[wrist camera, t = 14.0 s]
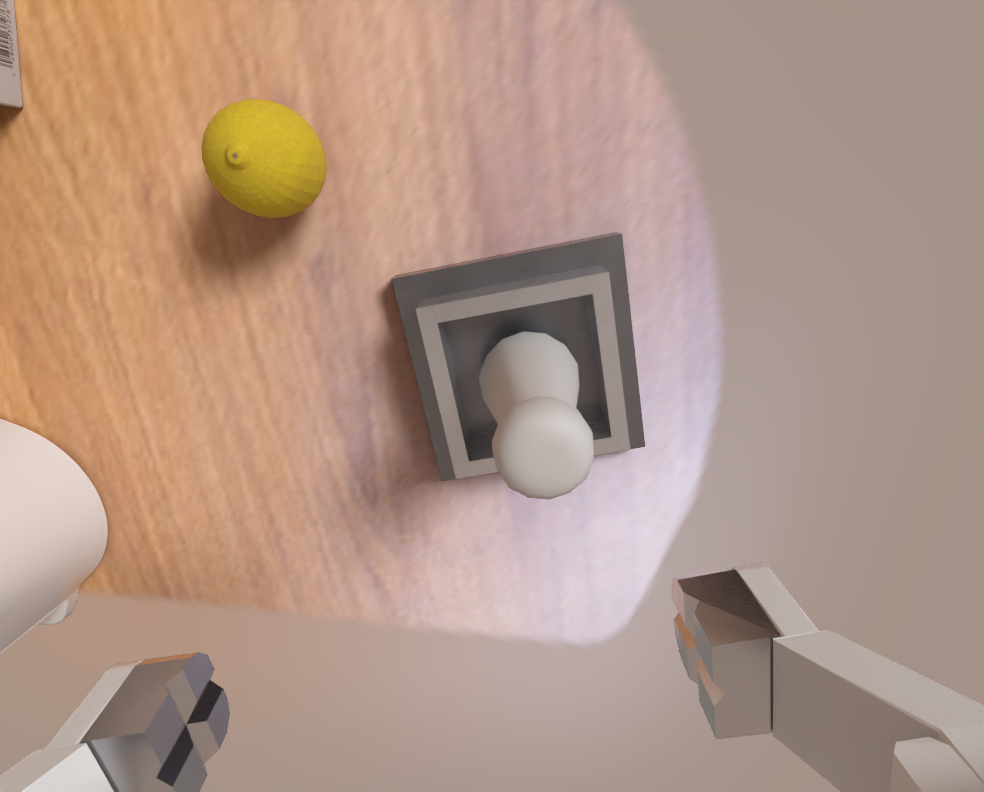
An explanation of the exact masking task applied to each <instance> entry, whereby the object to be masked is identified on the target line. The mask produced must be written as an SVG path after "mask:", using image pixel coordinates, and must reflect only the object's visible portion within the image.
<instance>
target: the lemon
mask: <svg viewBox="0 0 984 792" xmlns="http://www.w3.org/2000/svg"><path fill="white" fill-rule="evenodd" d="M202 160H203V163H204V166H205V170H206V173H207V175H208V176H209V178H210V180H211V182H212V184H213V185H214V187H215V188H216V189H217V190H218V191H219V192H220V194H221V195H222V196H223V197H224V198H225V199H227V200H228V201H229V202H231V203H232V204H233V205H235V206H236V207H238V208H240V209H242V210H244V211H246V212H249V213H251V214H253V215H257V216H263V217H269V218H278V217H288V216H291V215H293V214H296V213H298V212H301V211H303V210H304V209H305V208H307V207H308V206H309V205H311V204H312V203H313V202H314V201H315V199H316V198H317V197H318V195H319V194H320V193H321V190H322V187H323V185H324V182H325V178H326V170H327V165H326V157H325V152H324V149H323V146H322V144H321V141H320V139H319V138H318V136H317V134H316V133H315V131H314V130H313V128H312V127H311V126H310V125H309V124H308V123H307V122H306V121H305V120H304V119H303V118H302V117H301V116H300V115H299V114H297V113H296V112H294V111H293V110H291V109H289V108H288V107H286V106H284V105H281V104H278V103H275V102H272V101H268V100H255V99H248V100H244V101H240V102H236V103H232V104H230V105H228V106H227V107H225V108H224V109H222V110H220V111H219V112H218V113H217V114H216V115H215V116H214V117H213V118H212V119H211V121H210V122H209V124H208V126H207V128H206V130H205V132H204V136H203V142H202Z"/></svg>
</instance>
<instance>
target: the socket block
mask: <svg viewBox="0 0 984 792" xmlns="http://www.w3.org/2000/svg"><path fill="white" fill-rule="evenodd" d="M392 283H393V287H394V291H395V295H396V299H397V303H398V307H399V311H400V315H401V319H402V323H403V327H404V332H405V336H406V340H407V344H408V348H409V352H410V356H411V360H412V364H413V368H414V372H415V376H416V380H417V384H418V388H419V392H420V396H421V400H422V404H423V408H424V412H425V416H426V420H427V424H428V428H429V432H430V436H431V440H432V444H433V449H434V453H435V457H436V461H437V465H438V469H439V473H440V477H441V481H446V480H451V479H460V478H465V477H471V476H477V475H483V474H489V473H495V472H498V471H497V468H496V466H495V461H494V455H493V449H492V441H493V437H494V434H495V431H496V428H497V426H498V423H497V422H496V420H495V418H494V416H493V415H492V413H491V411H490V410H489V408H488V406H487V405H486V403H485V401H484V400H483V398H482V392H481V386H480V381H479V376H480V373H481V370H482V367H483V364H484V361H485V358H486V356H487V354H488V353H489V352H490V351H491V350H492V349H493V348H494V347H495V346H496V345H497V344H498V343H499V342H500V341H501V340H502V339H504V338H507V337H509V336H512V335H515V334H518V333H520V332H523V331H525V332H536V333H546V334H547V335H549V336H551V337H552V338H554V339H556V340H557V341H559V342H561V343H563V344H564V345H565V346H566V347H567V348H568V350H569V351H570V353H571V355H572V356H573V358H574V359H575V361H576V362H577V364H578V373H579V385H580V386H579V393H578V400H577V407H576V409H578V411H579V412H580V414H581V415H582V417H583V418H584V420H585V421H586V422H587V424H588V425H589V427H590V429H591V431H592V433H593V447H594V456H595V455H601V454H607V453H613V452H619V451H624V450H630V449H634V448H640V447H645V441H644V432H643V423H642V413H641V404H640V395H639V386H638V377H637V368H636V358H635V349H634V340H633V331H632V322H631V313H630V304H629V294H628V285H627V276H626V267H625V258H624V249H623V239H622V234H620V233H617V232H616V233H610V234H605V235H600V236H595V237H590V238H585V239H580V240H575V241H569V242H564V243H559V244H554V245H549V246H544V247H539V248H534V249H529V250H523V251H518V252H513V253H508V254H503V255H498V256H493V257H488V258H482V259H477V260H472V261H467V262H462V263H457V264H452V265H447V266H442V267H436V268H431V269H426V270H421V271H416V272H411V273H406V274H401V275H396V276H394V277H393V278H392Z"/></svg>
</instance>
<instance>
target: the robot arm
mask: <svg viewBox="0 0 984 792" xmlns="http://www.w3.org/2000/svg"><path fill="white" fill-rule="evenodd" d="M107 536H108V527H107V519H106V514H105V510H104V507H103V504H102V501H101V499H100V497H99V495H98V493H97V491H96V489H95V487H94V486H93V484H92V482H91V481H90V480H89V478H88V477H87V475H86V474H85V473H84V472H83V470H82V469H81V468H80V467H79V466H78V465H77V464H76V463H75V462H74V461H73V460H72V459H71V458H70V457H69V456H68V455H67V454H66V453H65V452H64V451H62V450H61V449H60V448H58V447H57V446H56V445H54V444H53V443H52V442H50V441H48V440H47V439H45V438H44V437H42V436H40V435H38V434H36V433H35V432H33V431H30V430H28V429H26V428H24V427H21V426H19V425H16V424H13V423H10V422H7V421H5V420H2V419H0V654H2V653H3V652H4V651H6V649H8V648H9V647H11V646H12V645H13V644H14V643H15V642H17V641H18V640H19V639H20V638H22V637H23V636H24V635H25V634H27V633H28V632H29V631H30V630H31V629H32V628H34V627H35V626H36V625H38V624H57V623H60V622H61V621H62V620H64V619H65V618H66V617H67V616H69V615H70V614H71V613H72V612H73V610H74V608H75V605H76V602H77V597H78V592H79V588H80V586H81V584H82V583H83V582H84V581H85V580H86V578H87V577H88V576H89V575H90V574H91V573H92V572H93V571H94V570H95V569H96V567H97V566H98V564H99V563H100V561H101V559H102V557H103V554H104V552H105V548H106V544H107ZM672 598H673V600H674V602H675V605H676V607H677V609H678V611H679V613H678V614H677V616H676V617H675V619H674V624H675V633H676V639H677V643H678V648H679V652H680V655H681V658H682V661H683V664H684V667H685V669H686V672H687V674H688V676H689V678H690V679H691V680H693V681H694V682H696V683H697V684H698V687H699V700H700V704H701V706H702V708H703V711H704V713H705V715H706V717H707V720H708V722H709V724H710V726H711V729H712V731H713V733H714V735H715V737H716V739H723V738H732V737H741V736H749V735H758V734H767V733H773V736H774V737H775V738H777V739H778V740H779V741H780V742H781V743H783V744H784V745H785V746H786V747H787V748H789V749H790V750H791V751H792V752H793V753H795V754H796V755H797V756H798V757H800V758H801V759H802V760H803V761H804V762H806V763H807V764H808V765H809V766H810V767H812V768H813V769H814V770H815V771H817V772H818V773H819V774H820V775H821V776H823V777H824V778H825V779H826V780H828V781H829V782H830V783H831V784H832V785H834V786H835V787H836V788H837V789H838V790H840V791H841V792H984V706H983V705H981V704H979V703H977V702H975V701H973V700H971V699H969V698H967V697H965V696H963V695H961V694H959V693H957V692H954V691H952V690H950V689H948V688H946V687H944V686H942V685H940V684H938V683H936V682H934V681H932V680H930V679H928V678H926V677H924V676H922V675H920V674H918V673H916V672H914V671H912V670H909V669H907V668H905V667H903V666H901V665H899V664H897V663H895V662H893V661H891V660H889V659H887V658H885V657H883V656H881V655H879V654H877V653H875V652H873V651H870V650H868V649H866V648H864V647H862V646H860V645H858V644H856V643H854V642H852V641H850V640H848V639H846V638H844V637H842V636H840V635H838V634H836V633H834V632H832V631H830V630H826V631H819V630H818V629H817V628H816V627H815V625H814V624H813V623H812V622H811V620H810V619H809V618H808V617H807V615H806V614H805V613H804V612H803V610H802V609H801V608H800V606H799V605H798V604H797V603H796V602H795V600H794V599H793V598H792V597H791V595H790V594H789V593H788V591H787V590H786V589H785V588H784V586H783V585H782V584H781V583H780V581H779V580H778V579H777V578H776V576H775V575H774V574H773V572H772V571H771V570H770V569H769V567H768V566H767V565H765V564H763V563H756V564H751V565H745V566H740V567H734V568H732V569H727V570H720V571H715V572H709V573H702V574H697V575H690V576H684V577H678V578H673V579H672ZM213 672H214V667H213V665H212V663H211V661H210V659H209V657H208V655H207V654H203V653H192V654H183V655H176V656H168V657H161V658H153V659H146V660H144V661H134V662H127V663H119V664H117V665H115V666H113V667H111V668H109V669H108V670H107V671H106V672H105V673H104V675H103V676H102V677H101V678H100V680H99V681H98V682H97V684H96V685H95V686H94V687H93V689H92V690H91V691H90V692H89V694H88V695H87V696H86V697H85V699H84V700H83V701H82V703H81V704H80V705H79V706H78V708H77V709H76V710H75V711H74V713H73V714H72V715H71V716H70V718H69V719H68V720H67V722H66V723H65V724H64V725H63V727H62V728H61V729H60V731H59V732H58V733H57V734H56V735H55V737H54V738H53V739H52V740H51V742H50V743H49V745H48V746H47V747H46V748H45V749H42V750H36V751H34V752H33V753H31V754H30V755H28V756H27V757H26V758H24V759H23V760H22V761H20V762H19V763H17V764H16V765H15V766H13V767H12V768H10V769H9V770H8V771H6V772H5V773H3V774H2V775H1V776H0V792H200V790H201V787H202V785H203V783H204V781H205V779H206V777H207V771H206V767H205V764H204V763H205V762H206V761H207V760H208V759H209V758H210V757H212V756H213V755H214V754H215V753H216V752H217V751H218V750H219V749H220V747H221V744H222V742H223V740H224V738H225V735H226V733H227V728H228V721H229V715H230V712H229V705H228V699H227V697H226V694H225V692H224V689H223V688H221V687H220V686H218V685H217V684H215V683H214V682H212V681H211V680H210V679H211V677H212V674H213Z"/></svg>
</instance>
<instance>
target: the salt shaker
mask: <svg viewBox="0 0 984 792" xmlns="http://www.w3.org/2000/svg"><path fill="white" fill-rule="evenodd" d="M479 381H480V386H481V392H482V398H483V400H484V401H485V403H486V405H487V406H488V408H489V410H490V411H491V413H492V415H493V416H494V418H495V420H496V422H497V423H498V426H497V428H496V431H495V434H494V437H493V441H492V449H493V455H494V461H495V466H496V468H497V471H498V472H499V474H500V475H501V477H502V478H503V479H504V481H505V482H506V484H507V485H508V486H509V488H511V489H513V490H515V491H517V492H519V493H520V494H522V495H524V496H526V497H528V498H540V499H552V498H555V497H558V496H561V495H564V494H567V493H570V492H571V491H572V490H574V489H575V488H576V487H577V486H578V485H579V484H580V483H582V482H583V481H584V480H585V479H586V478H587V475H588V473H589V470H590V468H591V465H592V463H593V461H594V447H593V433H592V431H591V429H590V427H589V425H588V424H587V422H586V421H585V420H584V418H583V417H582V415H581V414H580V412H579V411H578V409H576V407H577V400H578V393H579V386H580V385H579V373H578V364H577V362H576V361H575V359H574V358H573V356H572V355H571V353H570V351H569V350H568V348H567V347H566V346H565V345H564V344H563V343H561V342H559V341H557V340H556V339H554V338H552V337H551V336H549V335H547V334H546V333H536V332H525V331H523V332H520V333H518V334H515V335H512V336H509V337H507V338H504V339H502V340H501V341H500V342H499V343H498V344H497V345H496V346H495V347H494V348H493V349H492V350H491V351H490V352H489V353H488V354H487V356H486V358H485V361H484V364H483V367H482V370H481V373H480V376H479Z"/></svg>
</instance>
